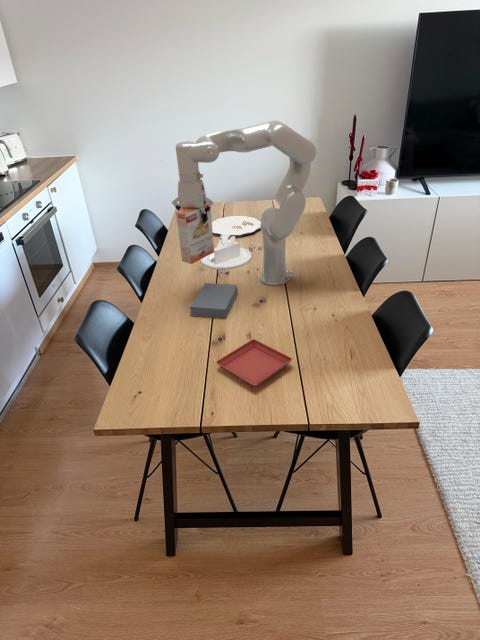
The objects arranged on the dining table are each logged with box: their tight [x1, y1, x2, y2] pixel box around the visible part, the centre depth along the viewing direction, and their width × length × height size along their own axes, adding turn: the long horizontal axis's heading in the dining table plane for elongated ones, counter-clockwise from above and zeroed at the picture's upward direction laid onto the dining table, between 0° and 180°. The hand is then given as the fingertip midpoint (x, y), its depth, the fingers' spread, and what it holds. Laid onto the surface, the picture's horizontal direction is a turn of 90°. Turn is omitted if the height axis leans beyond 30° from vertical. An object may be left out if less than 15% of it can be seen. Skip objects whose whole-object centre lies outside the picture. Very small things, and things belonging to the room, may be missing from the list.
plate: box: [212, 215, 261, 238], centre depth 261 cm, size 29×29×2 cm
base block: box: [189, 282, 239, 319], centre depth 189 cm, size 14×20×4 cm
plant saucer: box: [215, 338, 293, 388], centre depth 153 cm, size 18×18×3 cm
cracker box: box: [175, 203, 215, 265], centre depth 187 cm, size 14×6×21 cm, turn 141°
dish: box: [199, 234, 252, 270], centre depth 225 cm, size 25×25×11 cm
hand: (194, 221), depth 185 cm, fingers closed on cracker box, 7 cm apart
